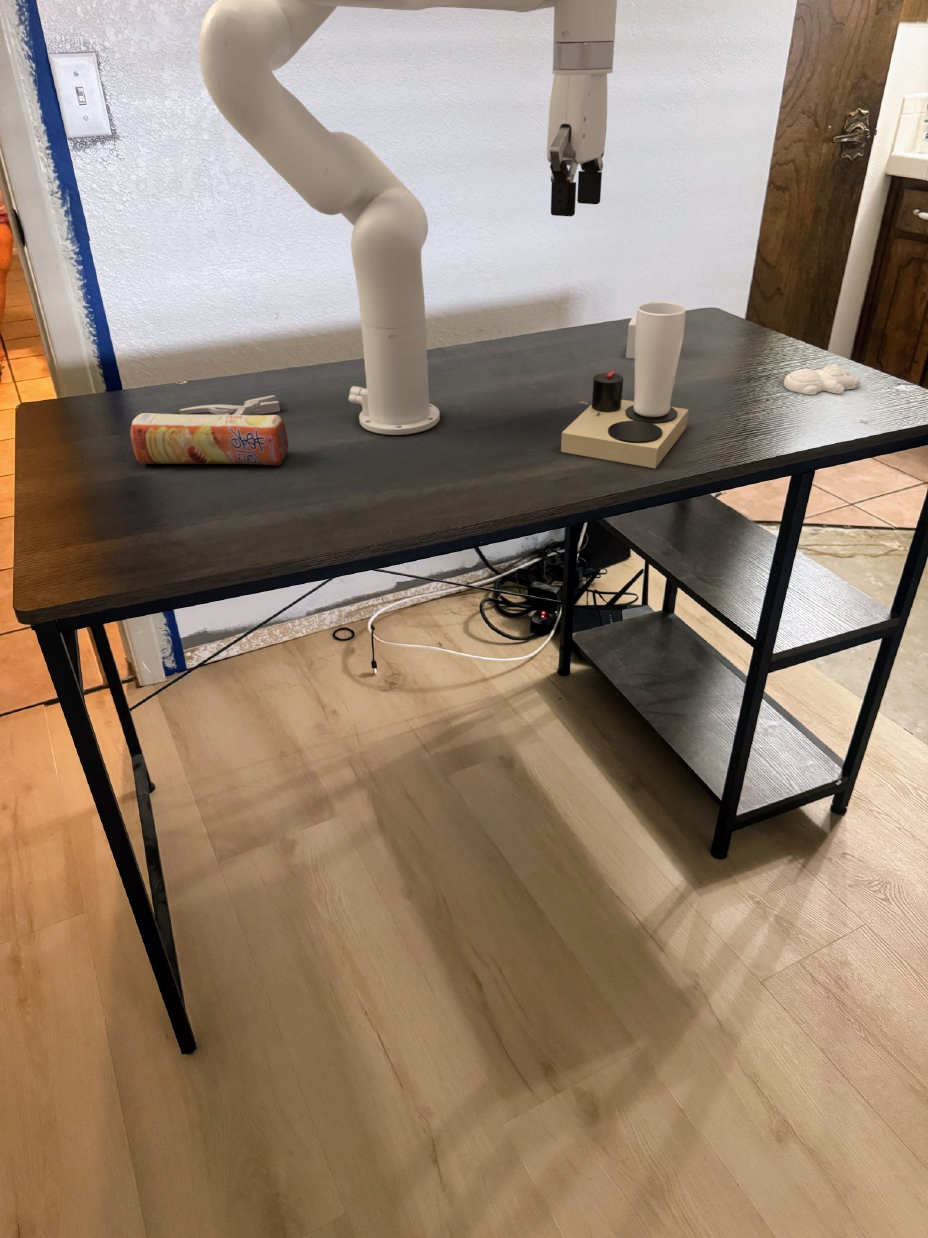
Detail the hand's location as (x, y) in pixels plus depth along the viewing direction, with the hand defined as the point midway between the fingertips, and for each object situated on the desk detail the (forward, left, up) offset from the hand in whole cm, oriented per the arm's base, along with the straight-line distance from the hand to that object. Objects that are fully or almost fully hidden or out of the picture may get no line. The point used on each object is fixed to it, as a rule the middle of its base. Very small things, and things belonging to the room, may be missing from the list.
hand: (575, 209), depth 119 cm
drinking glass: (+13, +1, -27) cm, 30 cm away
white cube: (+1, +37, -31) cm, 48 cm away
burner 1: (+13, +1, -27) cm, 30 cm away
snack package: (-41, -34, -31) cm, 61 cm away
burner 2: (+13, -7, -27) cm, 31 cm away
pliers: (-50, -19, -31) cm, 62 cm away
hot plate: (+10, -3, -30) cm, 32 cm away
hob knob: (+6, +1, -27) cm, 28 cm away
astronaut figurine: (+33, +32, -31) cm, 55 cm away
